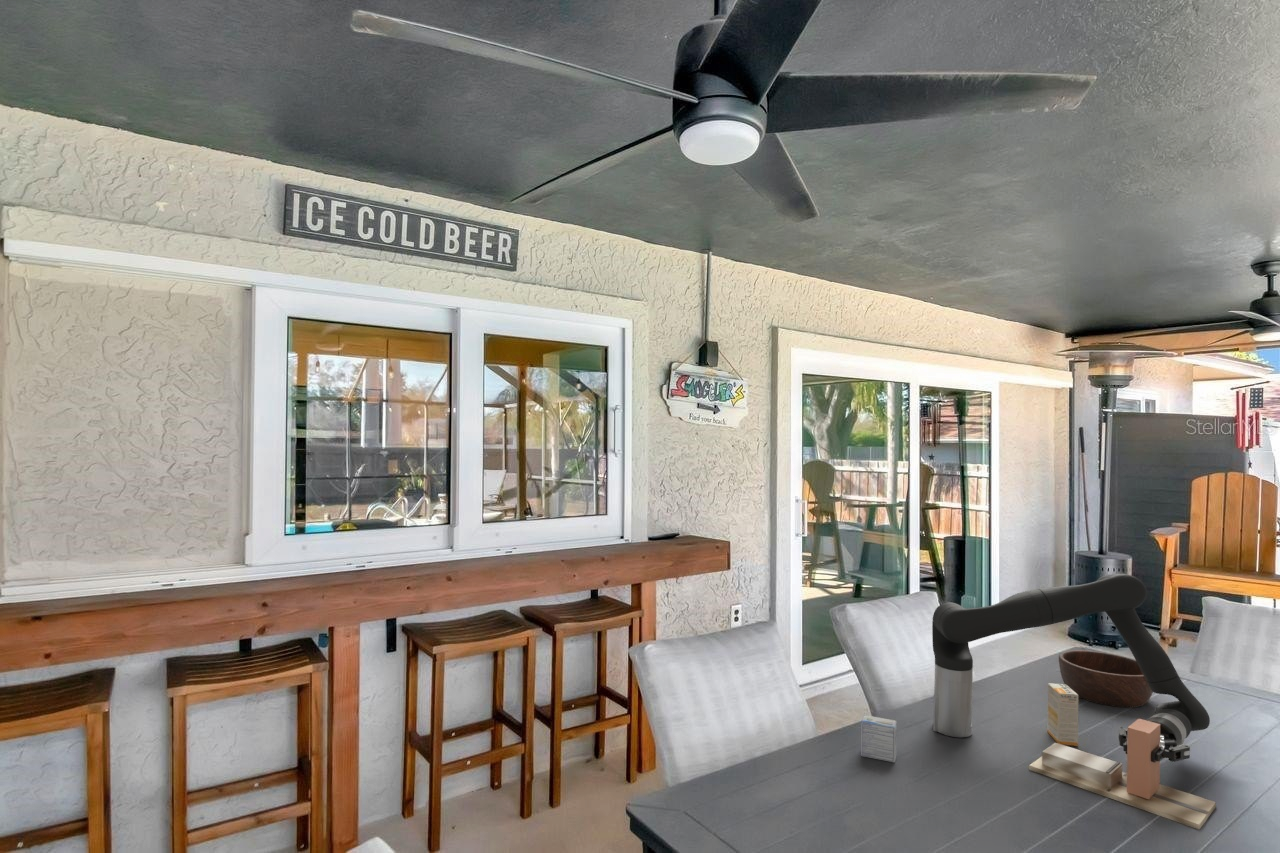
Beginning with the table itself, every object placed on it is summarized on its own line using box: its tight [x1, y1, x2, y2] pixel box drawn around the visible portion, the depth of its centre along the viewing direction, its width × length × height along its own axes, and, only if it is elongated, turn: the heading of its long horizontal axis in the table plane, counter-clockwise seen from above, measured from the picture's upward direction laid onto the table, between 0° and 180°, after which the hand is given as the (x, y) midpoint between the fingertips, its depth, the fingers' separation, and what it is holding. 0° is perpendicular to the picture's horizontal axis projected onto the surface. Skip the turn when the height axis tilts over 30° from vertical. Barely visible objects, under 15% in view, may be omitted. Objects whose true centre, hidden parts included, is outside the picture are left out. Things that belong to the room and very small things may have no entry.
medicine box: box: [860, 715, 898, 763], centre depth 171 cm, size 8×4×9 cm, turn 65°
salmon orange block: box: [1126, 718, 1161, 799], centre depth 155 cm, size 4×8×14 cm, turn 130°
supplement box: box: [1046, 682, 1079, 747], centre depth 184 cm, size 8×5×13 cm, turn 168°
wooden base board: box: [1028, 742, 1217, 830], centre depth 158 cm, size 32×14×4 cm, turn 40°
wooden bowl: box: [1058, 649, 1154, 708], centre depth 216 cm, size 25×25×10 cm
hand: (1140, 753), depth 153 cm, fingers closed on salmon orange block, 4 cm apart
